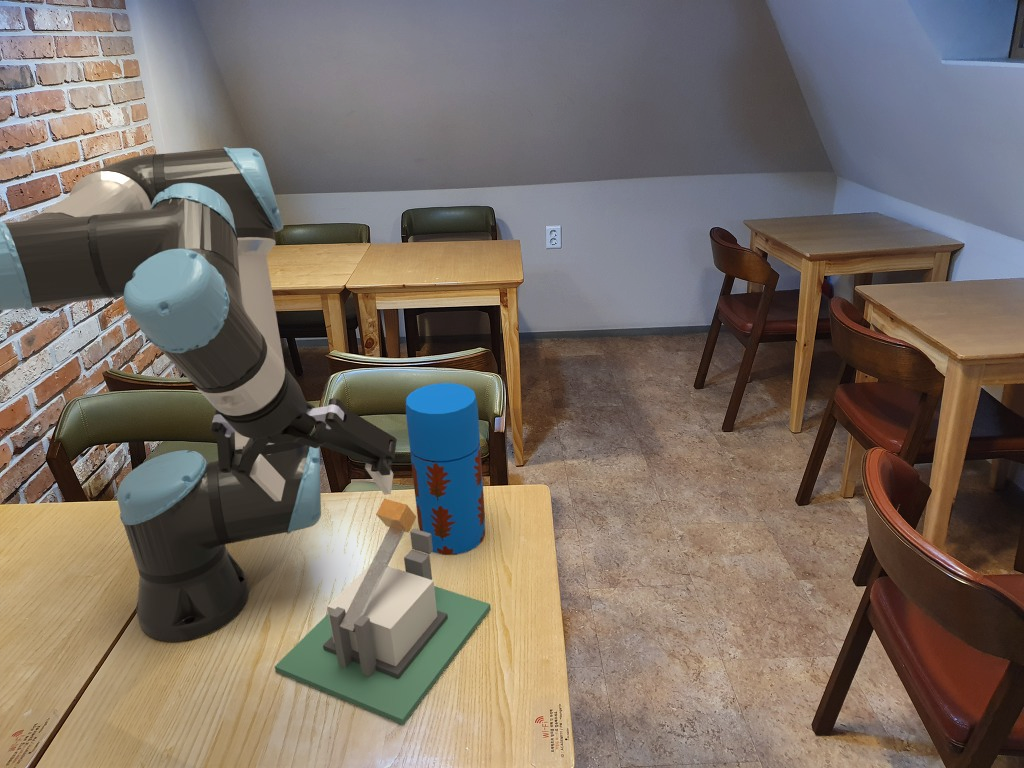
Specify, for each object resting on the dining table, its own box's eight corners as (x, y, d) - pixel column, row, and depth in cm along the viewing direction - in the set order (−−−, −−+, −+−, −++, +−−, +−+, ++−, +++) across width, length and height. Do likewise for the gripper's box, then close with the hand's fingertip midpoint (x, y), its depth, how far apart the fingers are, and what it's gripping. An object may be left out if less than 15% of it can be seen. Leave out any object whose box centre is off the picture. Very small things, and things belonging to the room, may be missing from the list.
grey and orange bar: (336, 626, 97) (323, 615, 94) (394, 511, 105) (384, 498, 102) (359, 634, 95) (347, 624, 93) (417, 517, 103) (407, 504, 101)
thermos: (476, 558, 120) (466, 416, 110) (411, 552, 122) (394, 412, 112) (492, 518, 130) (483, 384, 119) (431, 513, 132) (417, 380, 121)
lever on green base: (275, 672, 101) (260, 606, 96) (375, 572, 118) (367, 512, 114) (403, 725, 92) (393, 656, 87) (490, 609, 110) (486, 546, 105)
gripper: (121, 429, 74) (229, 522, 91) (368, 409, 69) (433, 511, 87) (145, 366, 78) (243, 466, 95) (379, 343, 74) (438, 452, 91)
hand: (334, 487), depth 91 cm, fingers open, 13 cm apart
